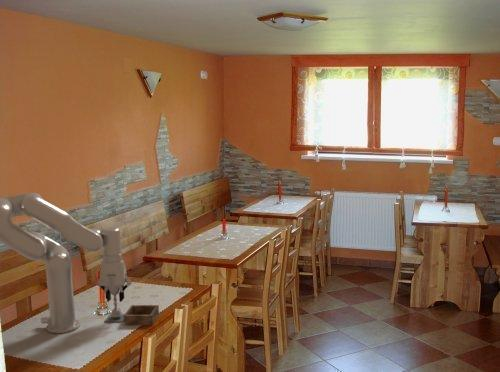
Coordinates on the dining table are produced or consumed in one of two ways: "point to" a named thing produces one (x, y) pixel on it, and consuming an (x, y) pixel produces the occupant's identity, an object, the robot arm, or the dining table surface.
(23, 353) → the dining table surface
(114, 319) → the mat
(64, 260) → the robot arm
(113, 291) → the chalice
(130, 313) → the wooden tray
